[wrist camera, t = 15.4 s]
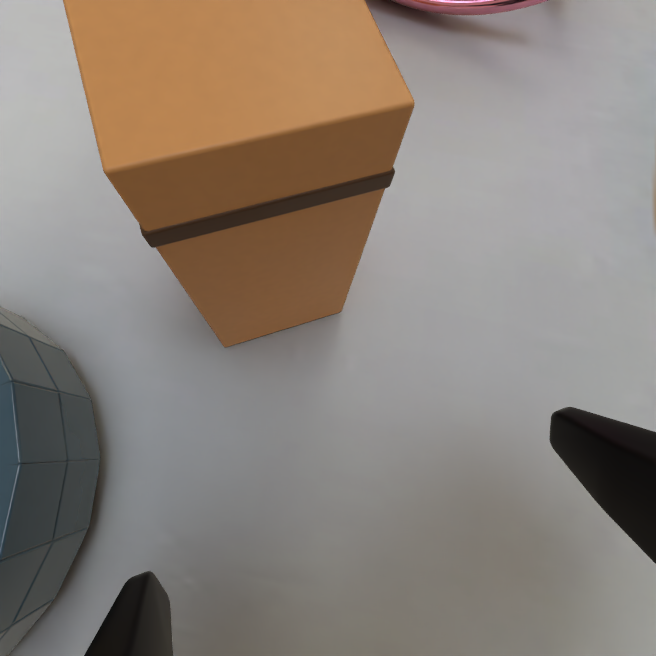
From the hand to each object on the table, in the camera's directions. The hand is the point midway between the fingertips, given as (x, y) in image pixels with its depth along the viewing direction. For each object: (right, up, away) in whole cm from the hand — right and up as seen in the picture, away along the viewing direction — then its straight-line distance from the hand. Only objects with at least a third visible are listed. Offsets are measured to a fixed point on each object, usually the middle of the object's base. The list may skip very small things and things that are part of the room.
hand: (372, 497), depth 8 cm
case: (-3, +5, +10) cm, 12 cm away
